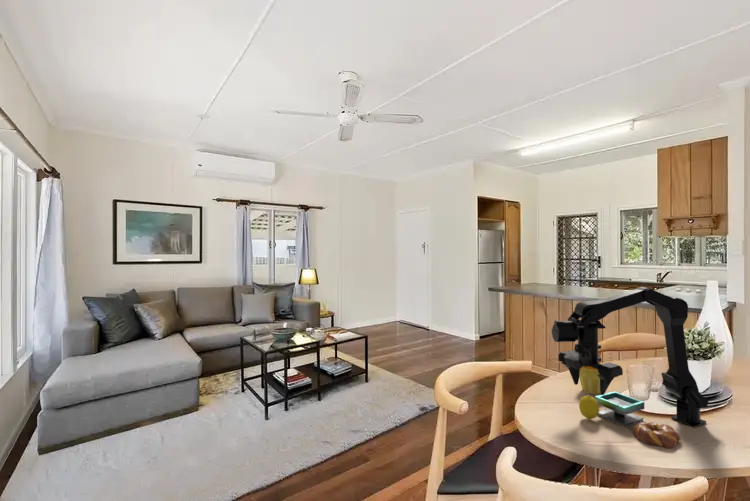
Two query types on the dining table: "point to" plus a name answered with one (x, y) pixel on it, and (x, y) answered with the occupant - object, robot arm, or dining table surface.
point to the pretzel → (656, 434)
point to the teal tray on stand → (620, 408)
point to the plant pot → (590, 380)
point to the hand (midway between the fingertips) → (588, 389)
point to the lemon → (589, 407)
